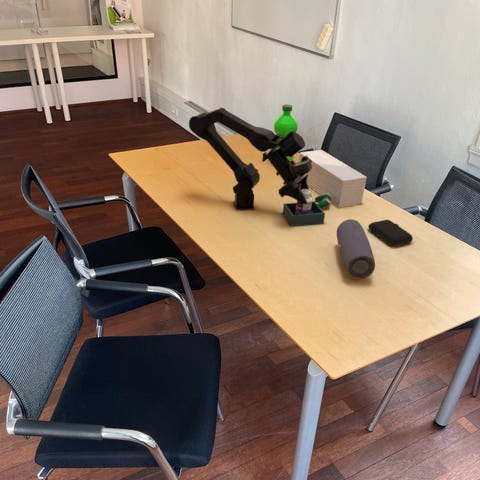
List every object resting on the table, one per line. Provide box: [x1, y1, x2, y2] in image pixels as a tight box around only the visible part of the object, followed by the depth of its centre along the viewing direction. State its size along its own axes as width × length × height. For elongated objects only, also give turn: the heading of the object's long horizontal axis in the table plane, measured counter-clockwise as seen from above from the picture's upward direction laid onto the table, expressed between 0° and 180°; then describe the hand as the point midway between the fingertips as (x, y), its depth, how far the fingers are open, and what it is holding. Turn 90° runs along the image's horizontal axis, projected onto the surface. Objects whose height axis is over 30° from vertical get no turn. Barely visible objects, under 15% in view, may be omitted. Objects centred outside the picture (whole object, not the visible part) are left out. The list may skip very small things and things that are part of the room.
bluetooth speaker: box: [336, 218, 376, 280], centre depth 144 cm, size 23×9×10 cm, turn 178°
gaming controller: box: [314, 193, 332, 210], centre depth 179 cm, size 9×4×6 cm
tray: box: [282, 200, 326, 227], centre depth 169 cm, size 12×10×4 cm
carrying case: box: [367, 219, 414, 247], centre depth 161 cm, size 11×3×15 cm
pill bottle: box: [295, 189, 313, 215], centre depth 167 cm, size 5×5×10 cm
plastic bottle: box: [273, 103, 298, 161], centre depth 205 cm, size 10×10×25 cm
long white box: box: [298, 149, 368, 209], centre depth 188 cm, size 32×11×11 cm, turn 25°
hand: (308, 200), depth 166 cm, fingers closed on pill bottle, 5 cm apart
